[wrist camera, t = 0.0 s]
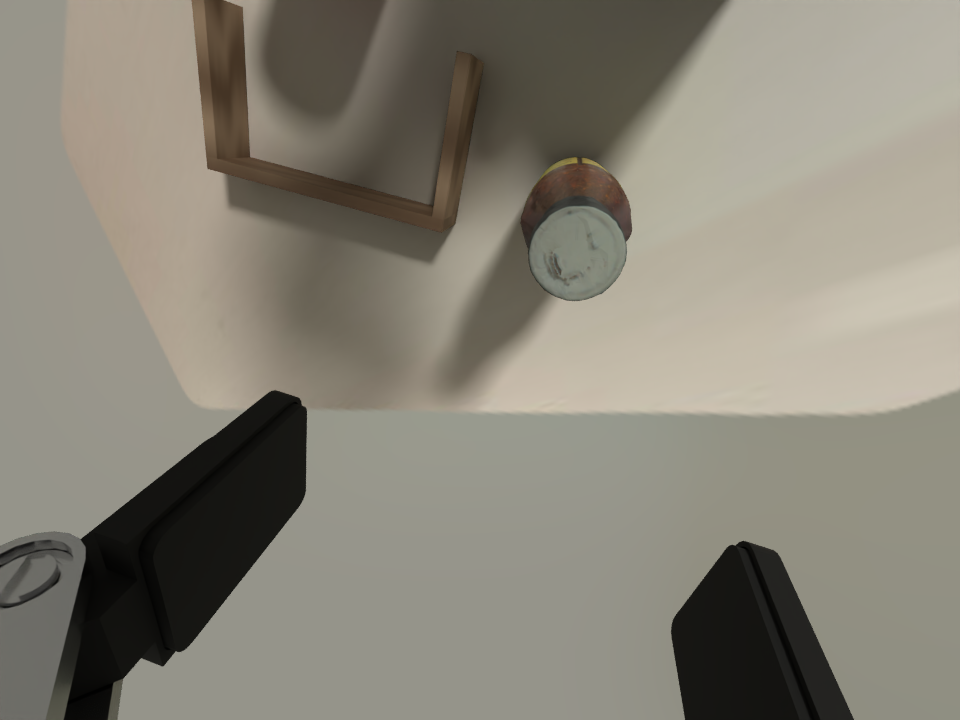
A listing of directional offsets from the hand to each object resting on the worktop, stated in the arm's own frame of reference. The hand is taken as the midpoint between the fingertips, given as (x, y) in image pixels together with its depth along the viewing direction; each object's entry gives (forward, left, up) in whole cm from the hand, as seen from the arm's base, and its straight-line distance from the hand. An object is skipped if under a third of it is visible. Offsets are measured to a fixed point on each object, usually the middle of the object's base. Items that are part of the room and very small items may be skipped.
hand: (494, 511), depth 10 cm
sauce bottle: (-3, 0, -31) cm, 32 cm away
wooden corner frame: (-5, -20, -31) cm, 37 cm away
